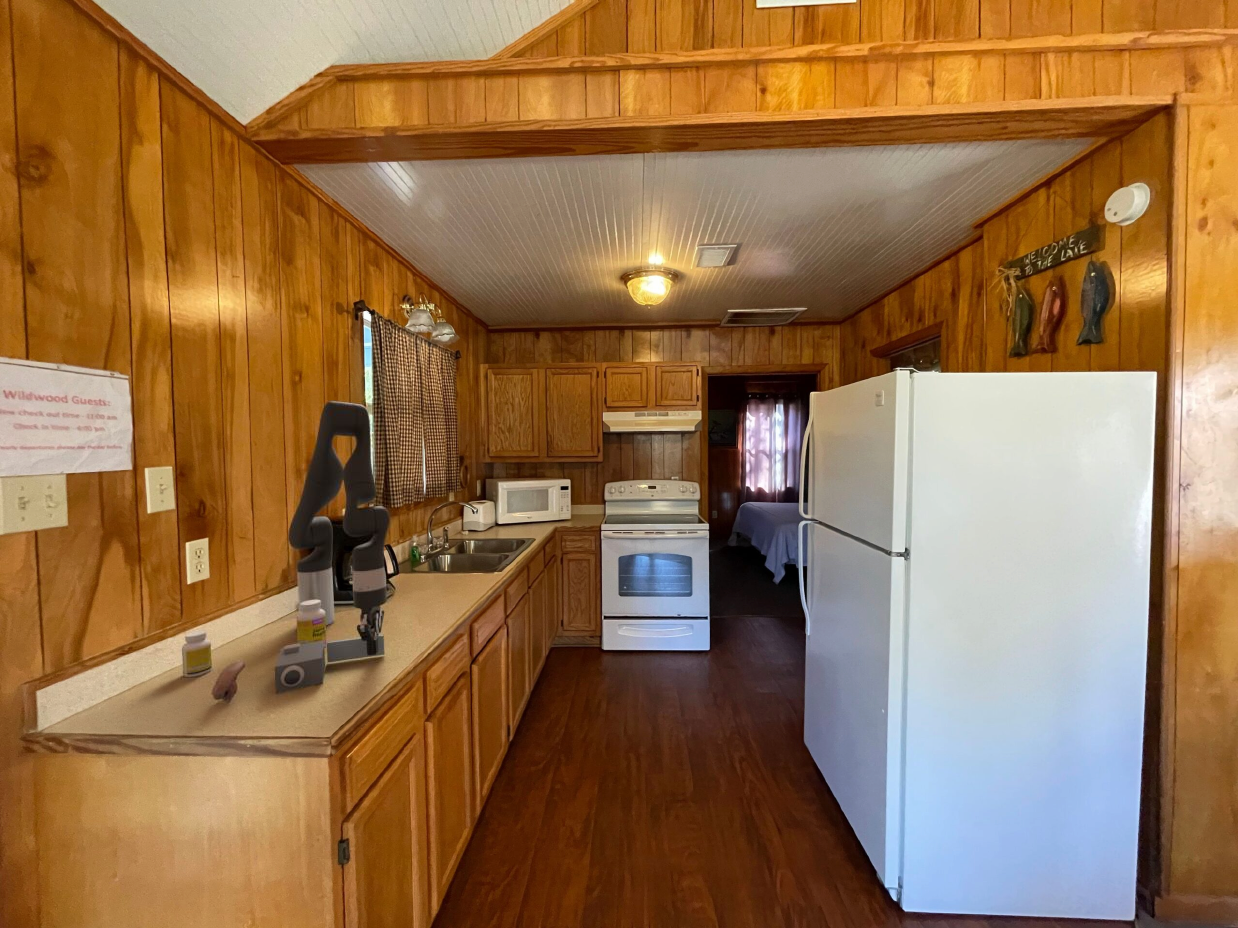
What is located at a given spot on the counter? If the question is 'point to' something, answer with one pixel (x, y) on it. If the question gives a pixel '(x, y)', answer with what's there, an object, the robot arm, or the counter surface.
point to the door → (351, 649)
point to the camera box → (300, 666)
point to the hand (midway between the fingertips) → (372, 653)
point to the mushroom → (227, 682)
